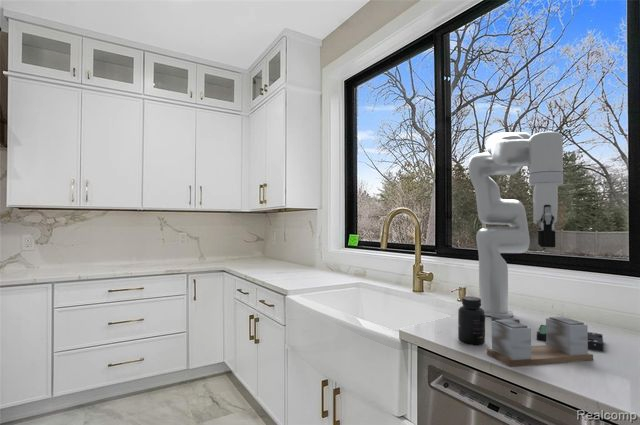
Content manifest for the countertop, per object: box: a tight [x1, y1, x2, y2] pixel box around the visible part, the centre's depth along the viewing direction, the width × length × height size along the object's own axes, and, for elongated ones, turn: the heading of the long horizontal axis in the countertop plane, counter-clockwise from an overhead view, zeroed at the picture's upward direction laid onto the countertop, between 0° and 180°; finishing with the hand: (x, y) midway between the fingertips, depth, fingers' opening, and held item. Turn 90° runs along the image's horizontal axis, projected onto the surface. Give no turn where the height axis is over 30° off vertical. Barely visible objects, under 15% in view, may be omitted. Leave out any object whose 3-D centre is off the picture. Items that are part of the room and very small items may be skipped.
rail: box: [486, 316, 594, 367], centre depth 87 cm, size 8×23×9 cm, turn 102°
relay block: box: [491, 315, 520, 323], centre depth 105 cm, size 6×4×5 cm, turn 32°
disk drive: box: [536, 324, 604, 352], centre depth 100 cm, size 10×3×15 cm
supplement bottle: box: [457, 296, 486, 346], centre depth 98 cm, size 7×7×12 cm
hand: (546, 246), depth 92 cm, fingers open, 9 cm apart
